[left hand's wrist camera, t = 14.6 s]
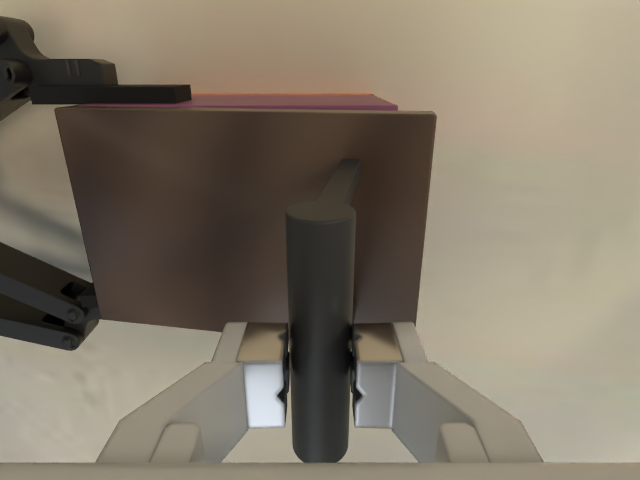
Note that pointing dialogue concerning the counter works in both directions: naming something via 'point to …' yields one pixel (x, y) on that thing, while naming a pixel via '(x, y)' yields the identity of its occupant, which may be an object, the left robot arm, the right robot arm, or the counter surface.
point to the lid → (257, 229)
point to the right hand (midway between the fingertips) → (195, 200)
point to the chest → (278, 102)
